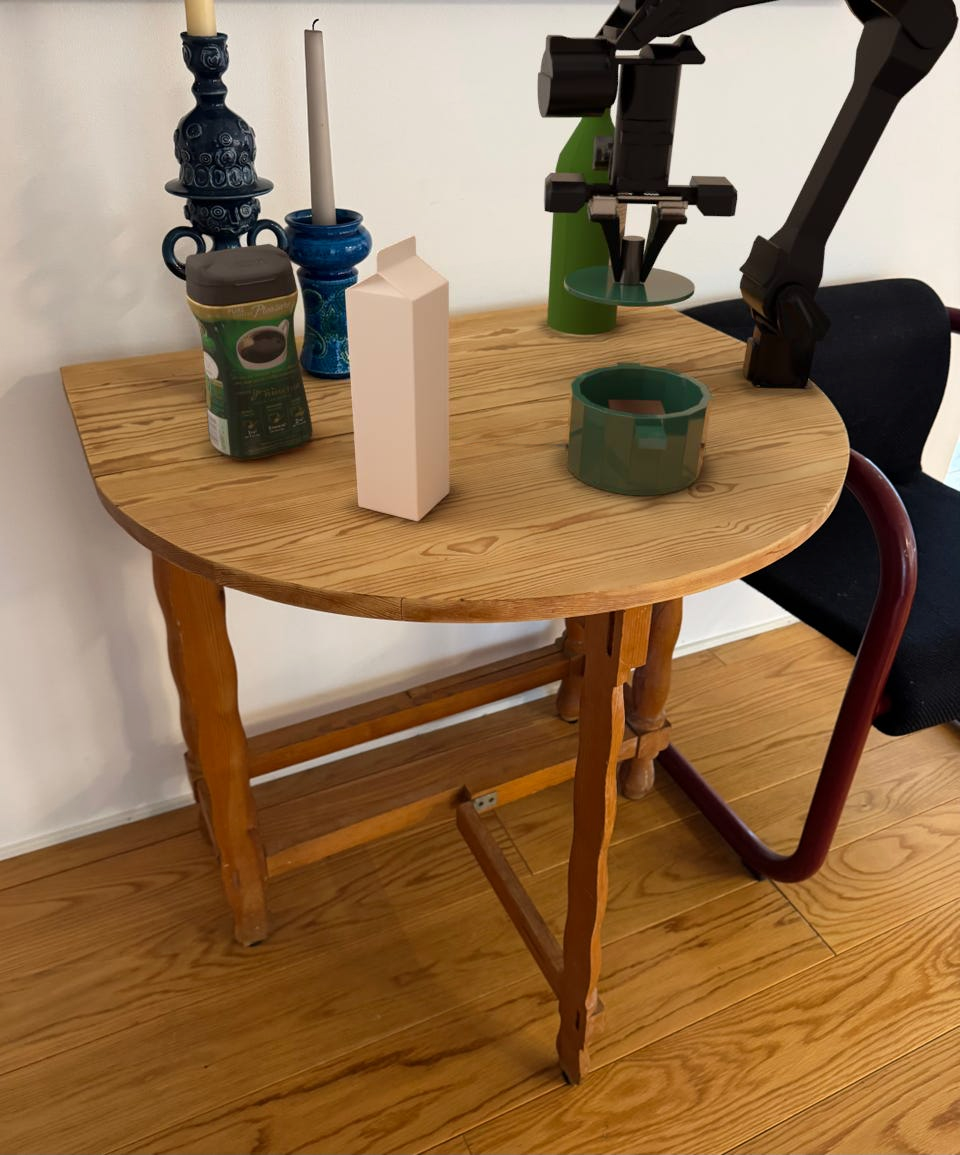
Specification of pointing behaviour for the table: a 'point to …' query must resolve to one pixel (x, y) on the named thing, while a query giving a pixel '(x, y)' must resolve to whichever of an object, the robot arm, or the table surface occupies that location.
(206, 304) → the coffee jar
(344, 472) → the table surface
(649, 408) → the block
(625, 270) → the lid
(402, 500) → the milk
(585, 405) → the tin
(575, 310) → the wine bottle
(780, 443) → the table surface
